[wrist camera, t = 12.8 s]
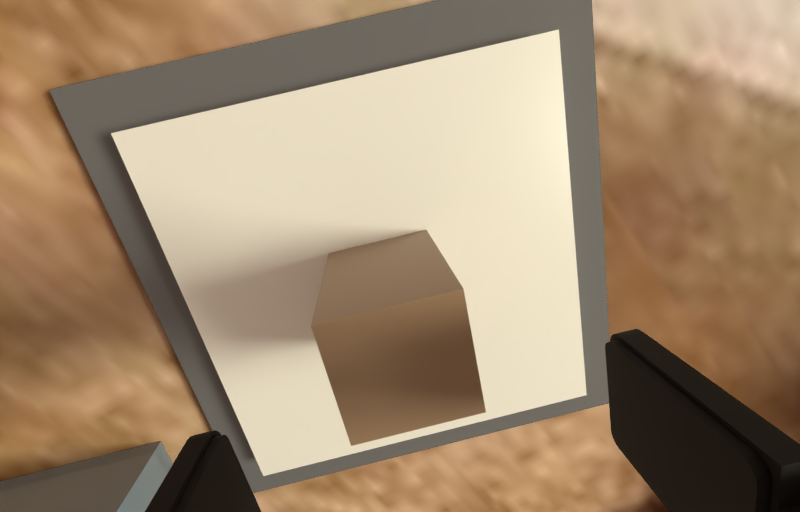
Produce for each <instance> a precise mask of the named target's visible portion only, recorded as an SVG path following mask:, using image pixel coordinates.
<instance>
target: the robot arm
mask: <svg viewBox="0 0 800 512" xmlns="http://www.w3.org/2000/svg"><path fill="white" fill-rule="evenodd" d="M605 354H606V367H607V380H608V394H609V407H610V420H611V432H612V436H613V438H614V441H615V443H616V444H617V446H618V447H619V449H620V450H621V451H622V453H623V454H624V455H625V456H626V458H627V459H628V460H629V461H630V463H631V464H632V465H633V466H634V468H635V469H636V470H637V471H638V473H639V474H640V475H641V476H642V478H643V479H644V480H645V481H646V483H647V484H648V485H649V486H650V488H651V489H652V490H653V491H654V493H655V494H656V495H657V496H658V498H659V499H660V500H661V501H662V503H663V504H664V505H665V506H666V508H667V509H668V510H669V511H670V512H800V444H798V443H797V442H796V441H794V440H793V439H791V438H790V437H789V436H787V435H786V434H784V433H783V432H782V431H780V430H779V429H777V428H776V427H775V426H773V425H772V424H771V423H769V422H768V421H766V420H765V419H764V418H762V417H761V416H759V415H758V414H757V413H755V412H754V411H752V410H751V409H750V408H748V407H747V406H745V405H744V404H743V403H741V402H740V401H738V400H737V399H736V398H734V397H733V396H731V395H730V394H729V393H727V392H726V391H724V390H723V389H722V388H720V387H719V386H718V385H716V384H715V383H713V382H712V381H711V380H709V379H708V378H706V377H705V376H704V375H702V374H701V373H699V372H698V371H697V370H695V369H694V368H692V367H691V366H690V365H688V364H687V363H685V362H684V361H683V360H681V359H680V358H678V357H677V356H676V355H674V354H673V353H671V352H670V351H669V350H667V349H666V348H664V347H663V346H662V345H660V344H659V343H658V342H656V341H655V340H653V339H652V338H651V337H649V336H648V335H646V334H645V333H644V332H642V331H640V330H638V329H634V330H630V331H625V332H621V333H617V334H613V335H612V336H611V339H610V342H607V343H606V345H605ZM145 512H261V510H260V508H259V506H258V504H257V501H256V499H255V497H254V494H253V492H252V490H251V488H250V485H249V483H248V481H247V479H246V476H245V474H244V472H243V470H242V467H241V465H240V463H239V460H238V458H237V456H236V454H235V451H234V449H233V447H232V445H231V442H230V440H229V438H228V437H227V436H226V435H221V434H220V432H218V431H215V430H214V431H210V432H206V433H202V434H198V435H193V436H191V437H190V438H189V439H188V440H187V441H186V443H185V445H184V447H183V448H182V450H181V452H180V453H179V455H178V457H177V458H176V460H175V462H174V463H173V465H172V467H171V468H170V470H169V472H168V473H167V475H166V477H165V478H164V480H163V482H162V484H161V485H160V487H159V489H158V490H157V492H156V494H155V495H154V497H153V499H152V500H151V502H150V504H149V505H148V507H147V509H146V510H145Z"/></svg>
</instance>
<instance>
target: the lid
mask: <svg viewBox="0 0 800 512" xmlns="http://www.w3.org/2000/svg"><path fill="white" fill-rule="evenodd" d="M111 135H112V137H113V139H114V142H115V144H116V146H117V148H118V151H119V153H120V155H121V157H122V160H123V162H124V164H125V166H126V168H127V171H128V173H129V175H130V177H131V180H132V182H133V184H134V186H135V189H136V191H137V193H138V195H139V198H140V200H141V202H142V204H143V207H144V209H145V211H146V213H147V216H148V218H149V220H150V222H151V225H152V227H153V229H154V231H155V234H156V236H157V238H158V240H159V243H160V245H161V247H162V249H163V252H164V254H165V256H166V258H167V261H168V263H169V265H170V267H171V270H172V272H173V274H174V276H175V279H176V281H177V283H178V285H179V288H180V290H181V292H182V294H183V297H184V299H185V301H186V303H187V306H188V308H189V310H190V312H191V315H192V317H193V319H194V321H195V324H196V326H197V328H198V330H199V333H200V335H201V337H202V339H203V342H204V344H205V346H206V348H207V351H208V353H209V355H210V357H211V360H212V362H213V364H214V366H215V368H216V371H217V373H218V375H219V377H220V380H221V382H222V384H223V386H224V389H225V391H226V393H227V395H228V398H229V400H230V402H231V404H232V407H233V409H234V411H235V413H236V416H237V418H238V420H239V422H240V425H241V427H242V429H243V431H244V434H245V436H246V438H247V440H248V443H249V445H250V447H251V449H252V452H253V454H254V456H255V458H256V461H257V463H258V465H259V467H260V470H261V472H262V474H263V476H266V475H270V474H274V473H278V472H282V471H286V470H290V469H294V468H298V467H302V466H306V465H310V464H314V463H318V462H322V461H326V460H330V459H334V458H338V457H342V456H346V455H350V454H354V453H358V452H362V451H366V450H370V449H374V448H378V447H382V446H386V445H390V444H394V443H398V442H402V441H406V440H410V439H414V438H418V437H422V436H426V435H430V434H434V433H438V432H442V431H446V430H450V429H454V428H458V427H462V426H466V425H470V424H474V423H478V422H482V421H486V420H490V419H494V418H498V417H502V416H506V415H510V414H513V413H517V412H521V411H525V410H529V409H533V408H537V407H541V406H545V405H549V404H553V403H557V402H561V401H565V400H569V399H573V398H577V397H581V396H585V395H587V393H586V380H585V367H584V354H583V341H582V327H581V314H580V301H579V288H578V275H577V261H576V248H575V235H574V222H573V209H572V196H571V182H570V169H569V156H568V143H567V130H566V117H565V103H564V90H563V77H562V64H561V51H560V37H559V30H554V31H550V32H546V33H542V34H537V35H533V36H529V37H524V38H520V39H516V40H511V41H507V42H503V43H498V44H494V45H490V46H485V47H481V48H477V49H472V50H468V51H464V52H460V53H455V54H451V55H447V56H442V57H438V58H434V59H429V60H425V61H421V62H416V63H412V64H408V65H403V66H399V67H395V68H390V69H386V70H382V71H378V72H373V73H369V74H365V75H360V76H356V77H352V78H347V79H343V80H339V81H334V82H330V83H326V84H321V85H317V86H313V87H308V88H304V89H300V90H296V91H291V92H287V93H283V94H278V95H274V96H270V97H265V98H261V99H257V100H252V101H248V102H244V103H239V104H235V105H231V106H227V107H222V108H218V109H214V110H209V111H205V112H201V113H196V114H192V115H188V116H183V117H179V118H175V119H170V120H166V121H162V122H157V123H153V124H149V125H145V126H140V127H136V128H132V129H127V130H123V131H119V132H114V133H111Z"/></svg>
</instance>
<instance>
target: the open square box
mask: <svg viewBox="0 0 800 512" xmlns="http://www.w3.org/2000/svg"><path fill="white" fill-rule="evenodd" d="M172 465H173V463H172V461H171V459H170V457H169V455H168V453H167V451H166V450H165V448H164V446H163V444H162V442H161V441H160V442H156V443H152V444H148V445H144V446H140V447H136V448H132V449H128V450H124V451H120V452H116V453H112V454H108V455H104V456H100V457H96V458H92V459H88V460H84V461H80V462H76V463H72V464H68V465H64V466H60V467H56V468H52V469H48V470H44V471H40V472H36V473H32V474H28V475H24V476H20V477H16V478H12V479H8V480H4V481H0V512H145V510H146V509H147V507H148V505H149V504H150V502H151V500H152V499H153V497H154V495H155V494H156V492H157V490H158V489H159V487H160V485H161V484H162V482H163V480H164V478H165V477H166V475H167V473H168V472H169V470H170V468H171V467H172Z"/></svg>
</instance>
